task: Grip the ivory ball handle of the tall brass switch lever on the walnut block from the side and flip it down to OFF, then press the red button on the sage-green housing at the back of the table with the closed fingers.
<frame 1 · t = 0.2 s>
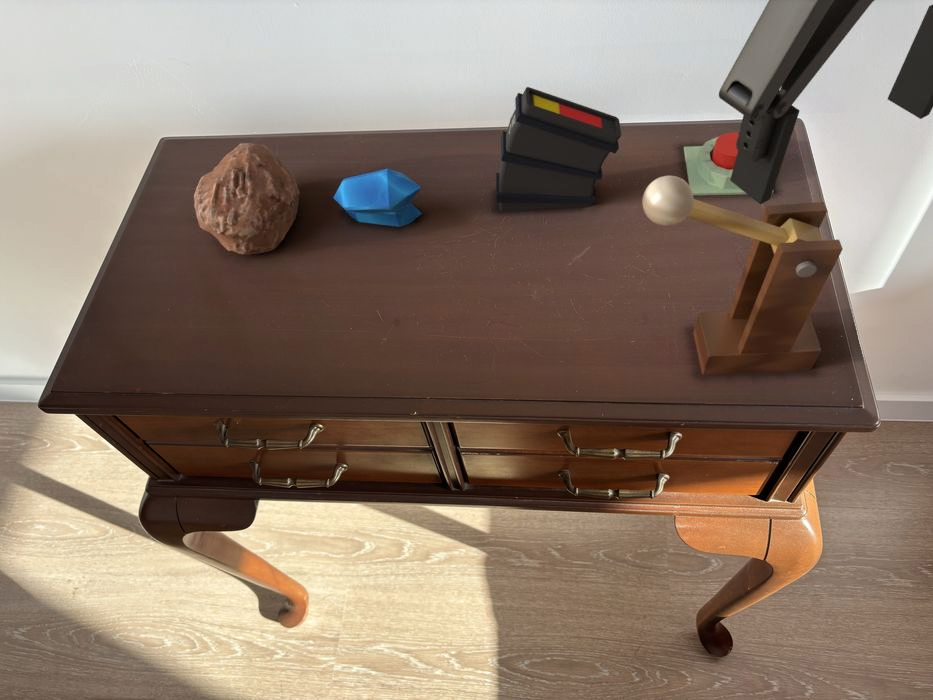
hand: (830, 147, 45), 27 cm above the table, tool pointing down, fingers open, 13 cm apart
button box: (725, 176, 82), on the table
switch bracket: (748, 355, 68), on the table
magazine: (554, 205, 82), on the table
decorative rock: (263, 229, 84), on the table
red button: (732, 151, 79), point 4 cm above the table, slide at 0.1 cm
switch lever: (732, 221, 53), point 19 cm above the table, hinge at 27.0°
crystal: (386, 223, 83), on the table
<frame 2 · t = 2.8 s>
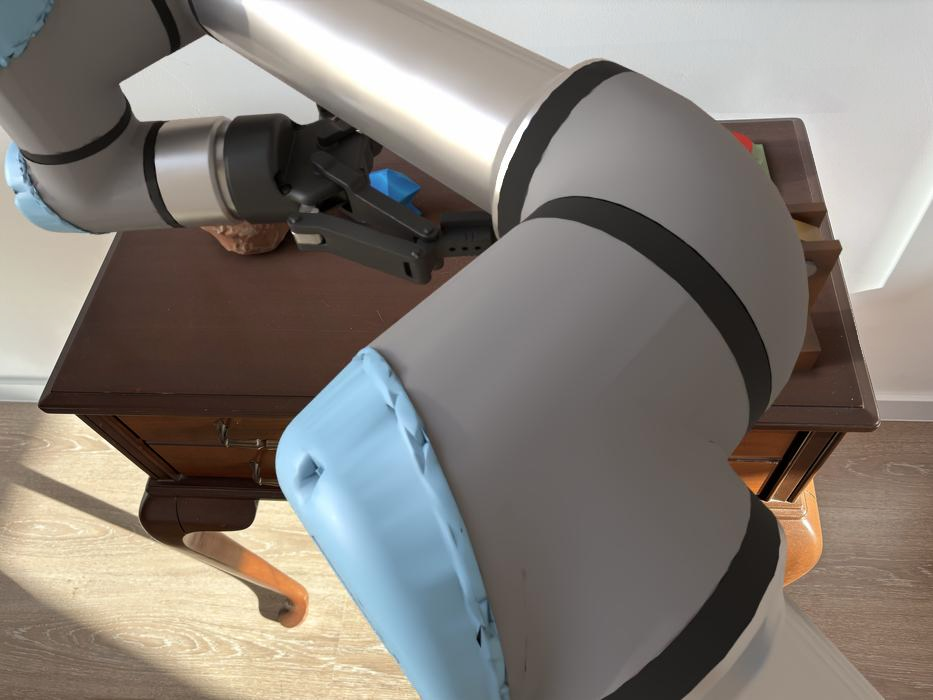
hand: (541, 154, 48), 27 cm above the table, tool horizontal, fingers open, 13 cm apart
nothing on the table moved.
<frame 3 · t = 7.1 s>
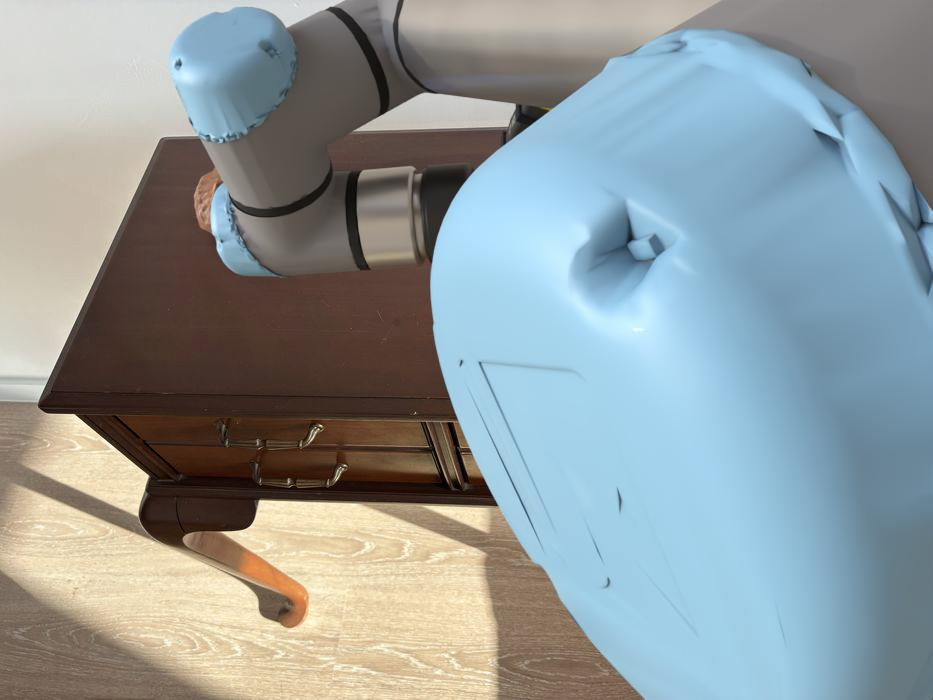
hand: (742, 195, 50), 21 cm above the table, tool horizontal, fingers closed on switch lever, 4 cm apart
switch lever: (732, 221, 53), point 19 cm above the table, hinge at 27.0°, touching gripper
everything else where it was.
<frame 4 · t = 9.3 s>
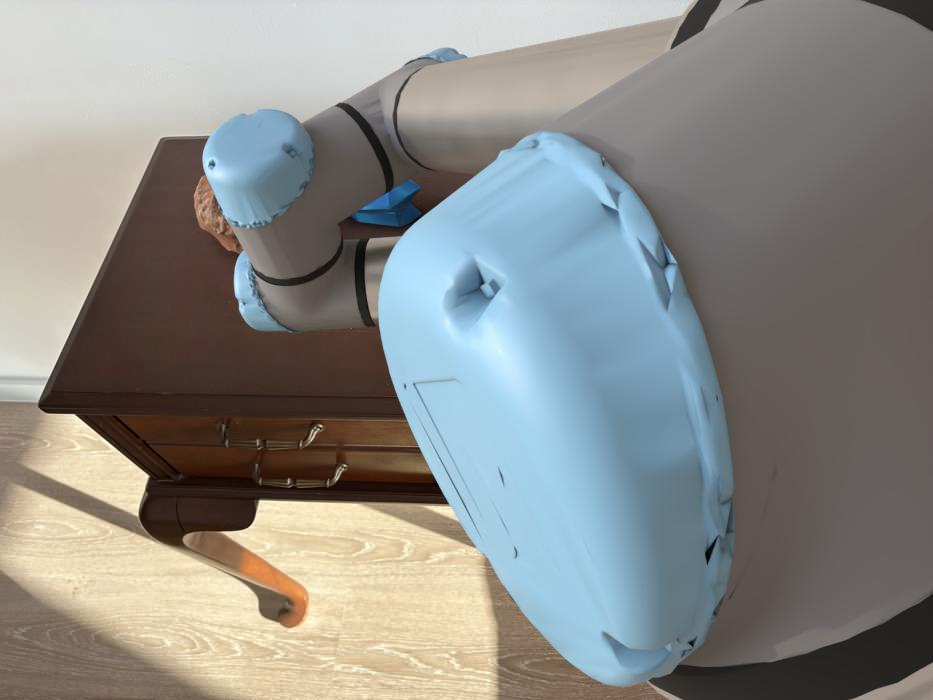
hand: (708, 263, 57), 14 cm above the table, tool horizontal, fingers closed on switch lever, 4 cm apart
switch lever: (714, 254, 56), point 15 cm above the table, hinge at -7.5°, touching gripper
everything else where it was.
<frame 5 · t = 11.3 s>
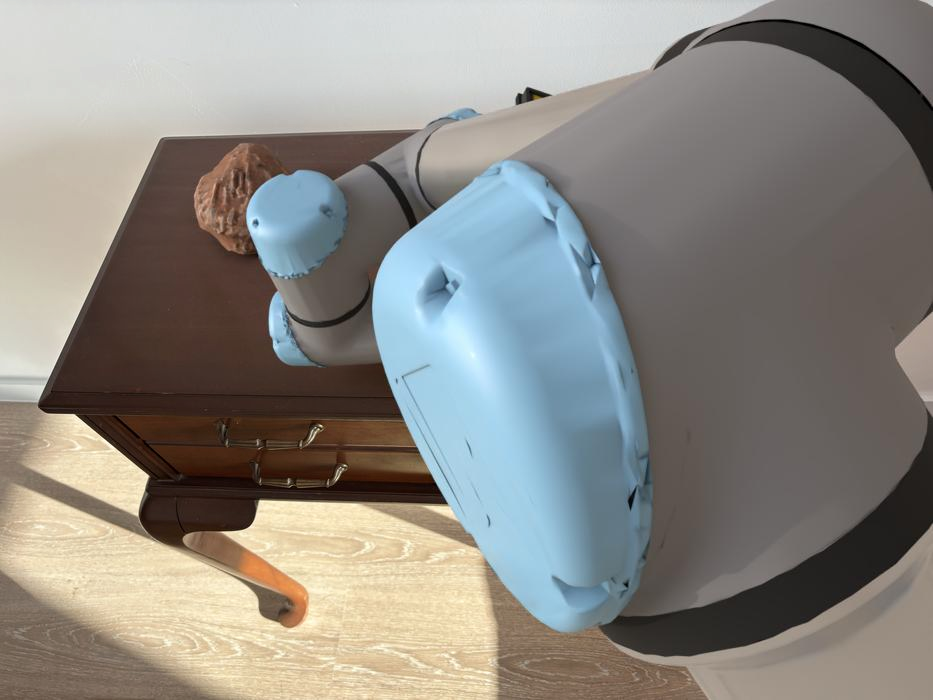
hand: (704, 304, 61), 9 cm above the table, tool horizontal, fingers open, 6 cm apart
switch lever: (718, 272, 57), point 13 cm above the table, hinge at -30.4°
everything else where it was.
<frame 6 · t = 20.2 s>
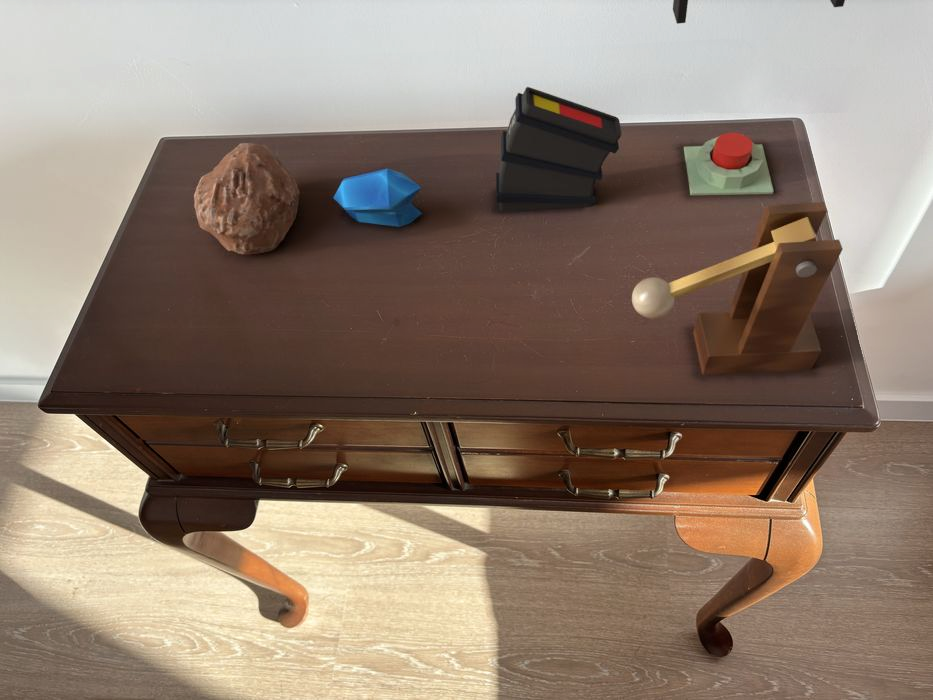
hand: (755, 8, 63), 21 cm above the table, tool pointing down, fingers open, 13 cm apart
nothing on the table moved.
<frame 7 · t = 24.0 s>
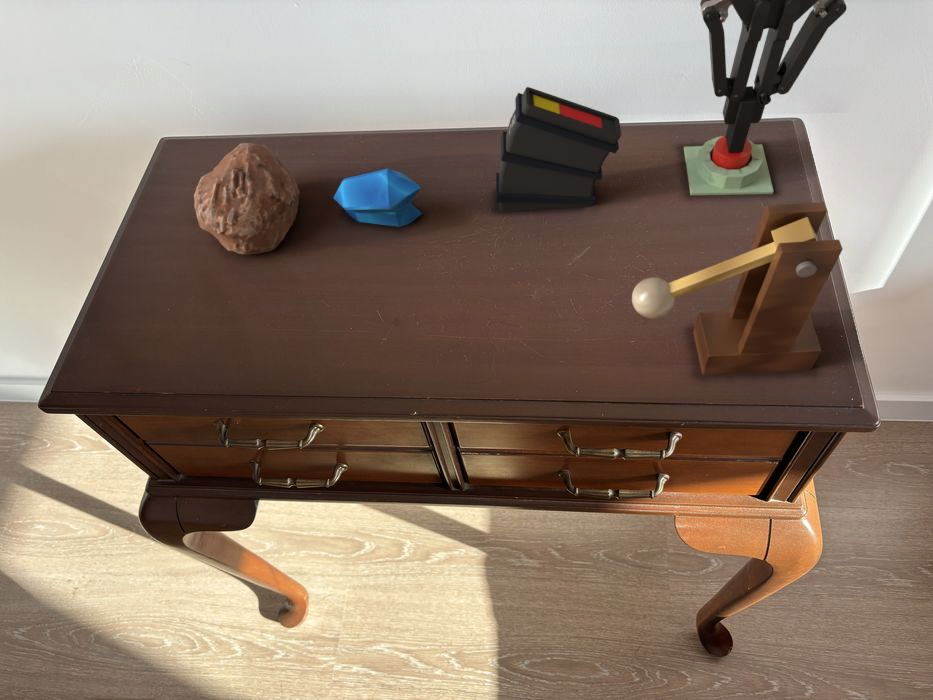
hand: (733, 144, 78), 5 cm above the table, tool pointing down, fingers closed
red button: (731, 153, 79), point 3 cm above the table, slide at -0.2 cm, touching gripper
everything else where it was.
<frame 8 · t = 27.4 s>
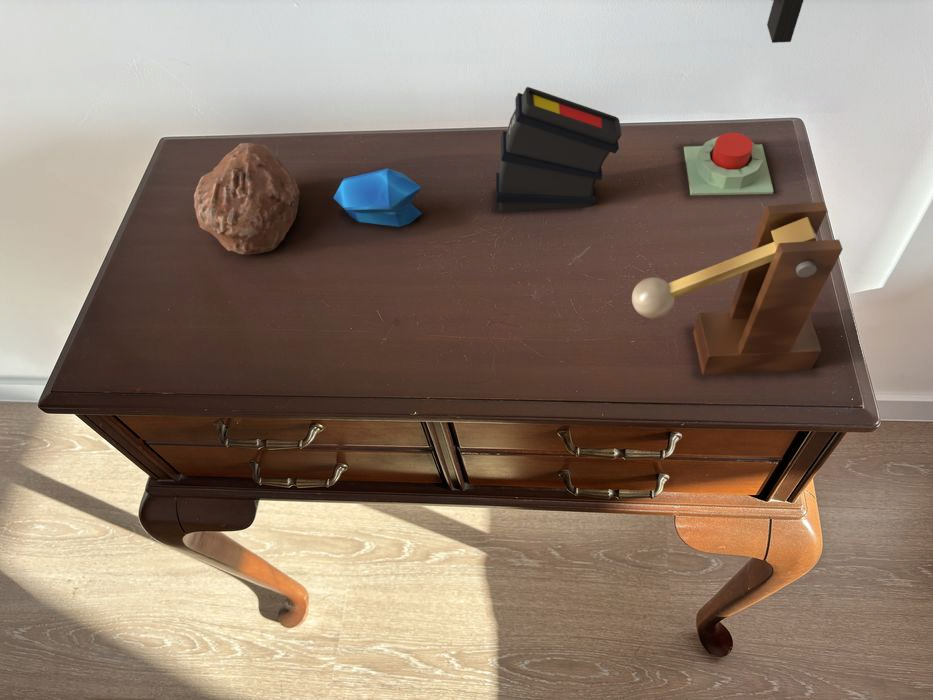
hand: (778, 32, 59), 22 cm above the table, tool pointing down, fingers closed
red button: (732, 151, 79), point 4 cm above the table, slide at 0.1 cm
everything else where it was.
at the end: switch lever at -30° (first picture: +27°); red button pushed in 1.0 cm at the most during the clip, back to where it started at the end; red button slide at 0.1 cm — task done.
